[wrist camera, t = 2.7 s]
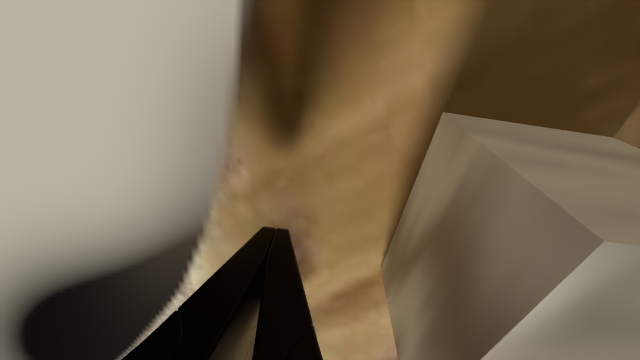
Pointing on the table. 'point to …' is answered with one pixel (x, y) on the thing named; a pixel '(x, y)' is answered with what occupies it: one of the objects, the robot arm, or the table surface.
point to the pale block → (518, 247)
